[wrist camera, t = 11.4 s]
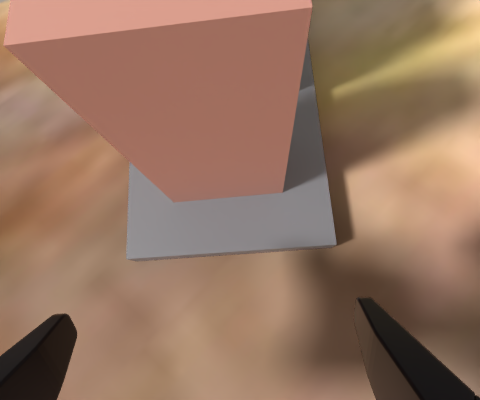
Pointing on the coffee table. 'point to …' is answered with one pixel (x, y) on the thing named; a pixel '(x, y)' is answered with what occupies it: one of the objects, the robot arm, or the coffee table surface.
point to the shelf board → (242, 205)
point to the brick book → (176, 83)
